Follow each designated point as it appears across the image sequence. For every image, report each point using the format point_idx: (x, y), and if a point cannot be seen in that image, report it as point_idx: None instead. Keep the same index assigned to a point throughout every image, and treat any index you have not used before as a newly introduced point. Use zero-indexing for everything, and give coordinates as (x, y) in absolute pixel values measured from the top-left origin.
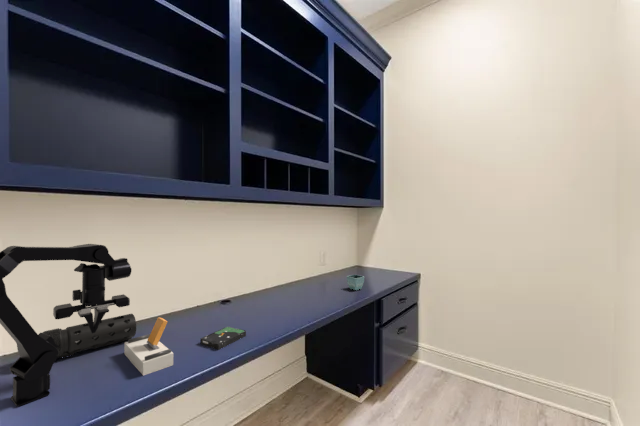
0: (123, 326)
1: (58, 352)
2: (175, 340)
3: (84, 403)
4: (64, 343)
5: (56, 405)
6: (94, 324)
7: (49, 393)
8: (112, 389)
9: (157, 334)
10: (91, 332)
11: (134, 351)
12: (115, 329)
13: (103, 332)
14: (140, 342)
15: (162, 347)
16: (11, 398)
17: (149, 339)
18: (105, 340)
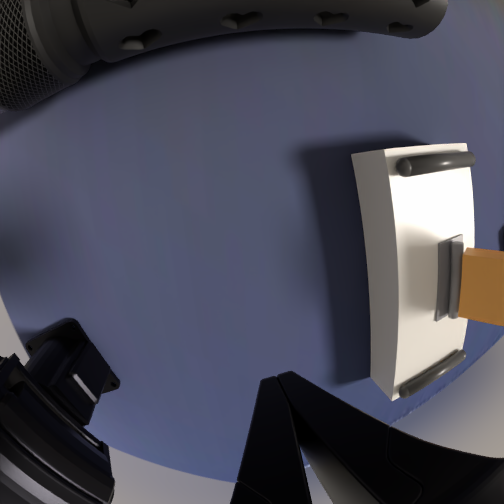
0: (396, 11)
1: (113, 491)
2: (478, 154)
3: (228, 448)
4: (70, 54)
5: (162, 434)
6: (322, 474)
7: (119, 384)
8: None
9: (495, 322)
10: (262, 386)
11: (403, 298)
12: (357, 8)
13: (294, 3)
14: (435, 198)
15: None
16: (31, 355)
17: (469, 271)
18: (287, 28)
